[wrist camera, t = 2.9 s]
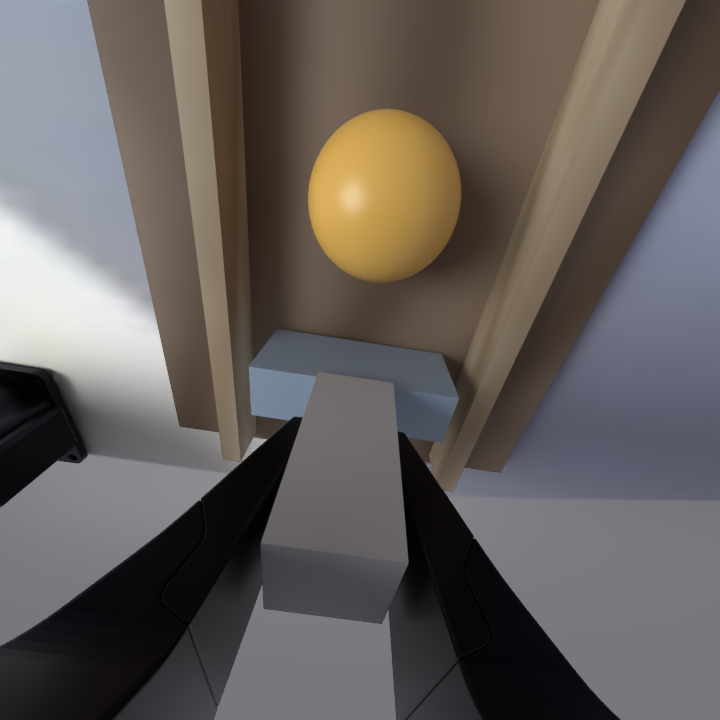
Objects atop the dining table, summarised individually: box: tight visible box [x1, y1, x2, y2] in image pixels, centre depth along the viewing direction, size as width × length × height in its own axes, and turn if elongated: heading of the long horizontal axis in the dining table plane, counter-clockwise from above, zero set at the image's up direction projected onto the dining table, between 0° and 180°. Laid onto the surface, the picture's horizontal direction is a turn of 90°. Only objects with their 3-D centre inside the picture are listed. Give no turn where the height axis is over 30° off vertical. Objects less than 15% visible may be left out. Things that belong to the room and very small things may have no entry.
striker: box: [249, 329, 459, 624], centre depth 9 cm, size 7×2×8 cm, turn 82°
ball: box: [308, 109, 461, 283], centre depth 8 cm, size 4×4×4 cm
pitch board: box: [87, 0, 720, 492], centre depth 10 cm, size 17×20×3 cm
